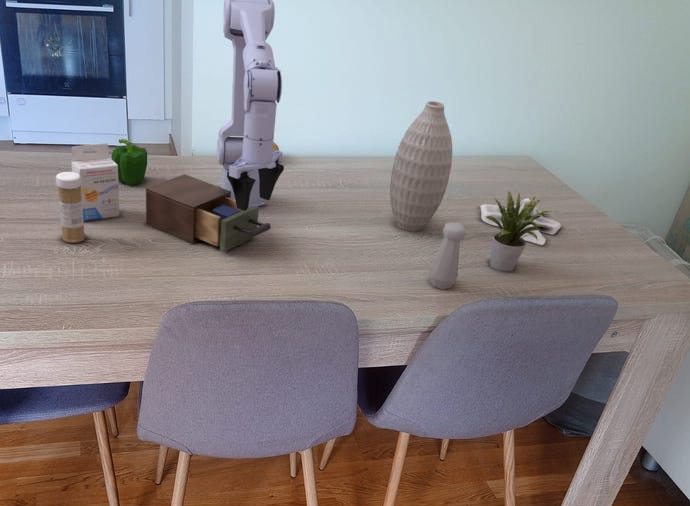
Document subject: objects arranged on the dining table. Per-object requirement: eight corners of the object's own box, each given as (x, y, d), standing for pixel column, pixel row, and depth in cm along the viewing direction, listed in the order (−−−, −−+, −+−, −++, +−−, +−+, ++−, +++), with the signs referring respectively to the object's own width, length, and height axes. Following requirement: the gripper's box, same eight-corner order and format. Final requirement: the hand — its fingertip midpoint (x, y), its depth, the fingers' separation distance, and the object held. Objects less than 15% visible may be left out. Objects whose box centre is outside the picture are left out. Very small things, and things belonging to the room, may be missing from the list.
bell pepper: (155, 181, 173) (155, 141, 167) (132, 190, 167) (131, 148, 161) (129, 172, 176) (128, 132, 171) (106, 180, 170) (104, 139, 165)
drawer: (275, 243, 150) (278, 214, 146) (244, 260, 142) (246, 230, 138) (212, 217, 157) (213, 189, 153) (178, 232, 149) (179, 203, 145)
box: (227, 238, 147) (228, 216, 144) (210, 232, 149) (211, 209, 146) (238, 233, 150) (240, 210, 147) (222, 226, 152) (223, 204, 149)
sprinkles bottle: (82, 232, 146) (77, 170, 139) (87, 242, 143) (83, 178, 136) (59, 235, 145) (53, 171, 137) (64, 244, 141) (58, 180, 134)
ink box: (82, 222, 151) (77, 154, 142) (74, 213, 154) (69, 146, 145) (120, 216, 155) (118, 150, 146) (111, 207, 158) (108, 142, 150)
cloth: (464, 209, 178) (470, 186, 175) (521, 203, 186) (528, 181, 182) (522, 248, 162) (530, 223, 159) (582, 240, 170) (591, 216, 166)
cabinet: (229, 226, 156) (231, 191, 151) (192, 243, 147) (193, 207, 143) (183, 208, 162) (184, 174, 157) (146, 224, 153) (145, 188, 148)
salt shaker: (423, 276, 146) (437, 217, 138) (450, 277, 146) (465, 219, 139) (430, 290, 141) (445, 230, 134) (458, 291, 142) (474, 232, 134)
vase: (442, 223, 169) (471, 103, 153) (428, 242, 160) (457, 116, 143) (392, 210, 173) (415, 91, 157) (375, 228, 163) (398, 103, 147)
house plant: (523, 291, 145) (548, 217, 135) (460, 269, 150) (480, 196, 141) (542, 267, 155) (566, 197, 146) (482, 247, 160) (502, 178, 151)
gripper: (252, 149, 127) (247, 220, 135) (297, 133, 137) (290, 200, 145) (221, 139, 130) (218, 208, 138) (268, 124, 140) (262, 190, 148)
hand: (253, 203), depth 141 cm, fingers open, 7 cm apart
